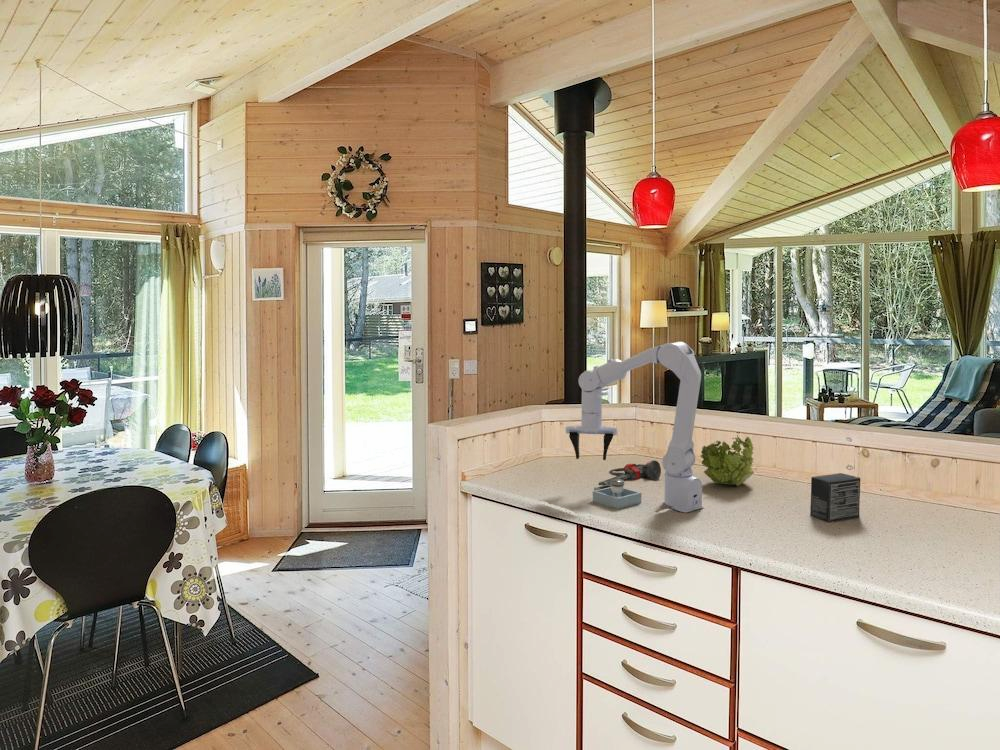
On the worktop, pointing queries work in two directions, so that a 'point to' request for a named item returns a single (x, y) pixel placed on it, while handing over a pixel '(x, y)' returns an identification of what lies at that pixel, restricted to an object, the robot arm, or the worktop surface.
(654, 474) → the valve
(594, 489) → the plate
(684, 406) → the robot arm
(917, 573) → the worktop surface
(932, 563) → the worktop surface
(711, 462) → the lettuce head
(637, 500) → the bin
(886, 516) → the worktop surface
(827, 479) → the small box
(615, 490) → the metal capped cylinder
